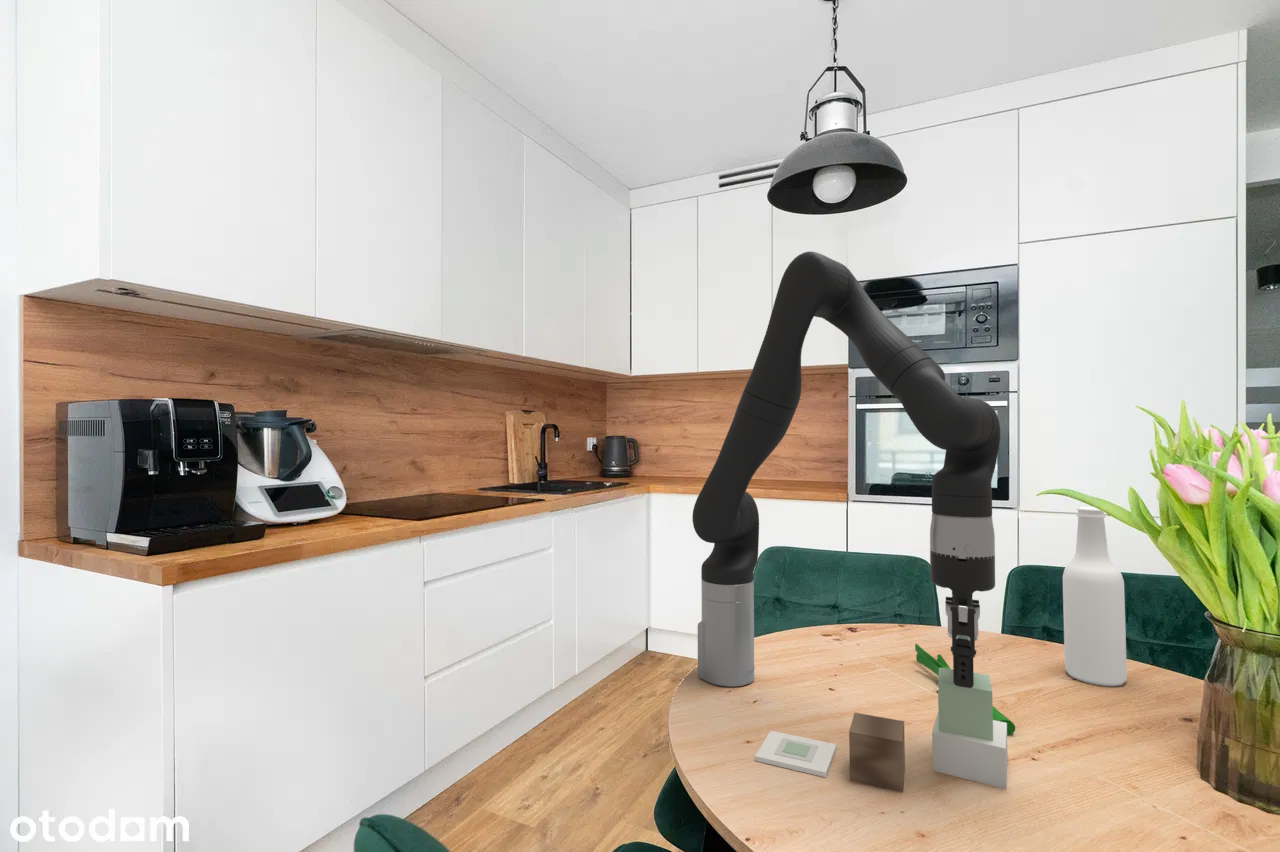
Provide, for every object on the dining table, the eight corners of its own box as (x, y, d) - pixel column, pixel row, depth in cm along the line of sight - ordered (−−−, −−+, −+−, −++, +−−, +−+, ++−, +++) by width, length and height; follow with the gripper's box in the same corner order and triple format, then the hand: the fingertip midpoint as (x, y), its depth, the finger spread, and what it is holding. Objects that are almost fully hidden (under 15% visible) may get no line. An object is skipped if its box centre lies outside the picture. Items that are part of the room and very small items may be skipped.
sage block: (938, 730, 78) (938, 682, 78) (939, 712, 83) (938, 667, 83) (993, 740, 75) (992, 691, 75) (990, 721, 80) (989, 674, 80)
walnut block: (849, 781, 75) (849, 731, 75) (855, 758, 80) (854, 712, 80) (903, 793, 72) (902, 741, 72) (904, 769, 78) (904, 721, 78)
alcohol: (1108, 670, 111) (1104, 505, 113) (1139, 689, 103) (1133, 510, 104) (1055, 667, 113) (1051, 504, 114) (1081, 685, 104) (1076, 509, 105)
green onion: (1018, 742, 87) (928, 657, 116) (1018, 719, 86) (928, 640, 116) (983, 741, 87) (902, 657, 117) (983, 718, 87) (902, 640, 117)
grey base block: (932, 772, 77) (932, 732, 77) (939, 746, 84) (939, 709, 84) (1006, 791, 73) (1005, 748, 73) (1007, 761, 80) (1006, 722, 80)
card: (754, 760, 80) (754, 754, 80) (771, 734, 87) (770, 729, 87) (826, 777, 75) (825, 770, 75) (836, 749, 83) (836, 742, 83)
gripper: (931, 539, 88) (932, 653, 88) (928, 555, 75) (929, 688, 75) (991, 543, 85) (992, 662, 84) (998, 561, 72) (1000, 700, 72)
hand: (962, 674), depth 80 cm, fingers open, 8 cm apart
